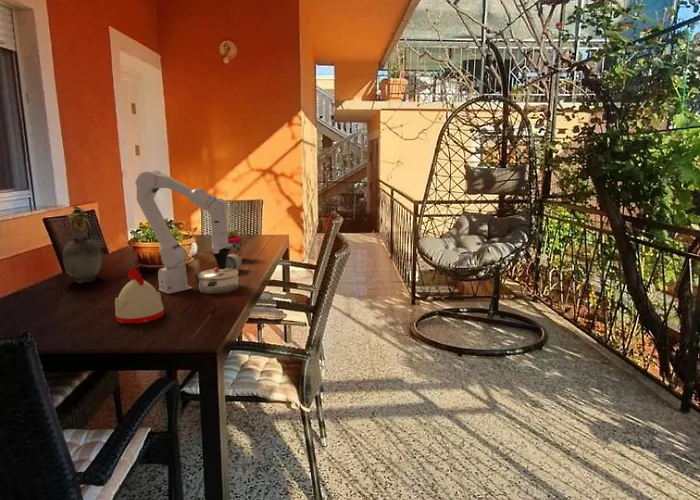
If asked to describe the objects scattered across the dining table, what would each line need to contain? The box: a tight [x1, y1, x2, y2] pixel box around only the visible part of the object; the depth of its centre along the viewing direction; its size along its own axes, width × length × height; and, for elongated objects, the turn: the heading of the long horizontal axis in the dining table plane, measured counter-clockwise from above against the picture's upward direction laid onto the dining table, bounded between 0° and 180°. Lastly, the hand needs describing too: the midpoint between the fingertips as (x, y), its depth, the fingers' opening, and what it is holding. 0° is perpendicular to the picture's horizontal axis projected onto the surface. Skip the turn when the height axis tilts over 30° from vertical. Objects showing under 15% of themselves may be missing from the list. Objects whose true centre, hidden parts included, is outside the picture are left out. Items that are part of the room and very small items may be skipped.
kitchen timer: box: [114, 268, 165, 325], centre depth 149 cm, size 14×14×15 cm
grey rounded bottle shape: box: [62, 206, 102, 284], centre depth 193 cm, size 11×19×30 cm, turn 10°
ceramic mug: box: [226, 254, 243, 271], centre depth 205 cm, size 11×8×8 cm
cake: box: [225, 228, 244, 261], centre depth 225 cm, size 10×11×15 cm
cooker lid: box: [194, 266, 239, 280], centre depth 179 cm, size 15×15×2 cm
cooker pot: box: [195, 274, 239, 295], centre depth 179 cm, size 15×20×5 cm
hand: (222, 268), depth 178 cm, fingers closed
